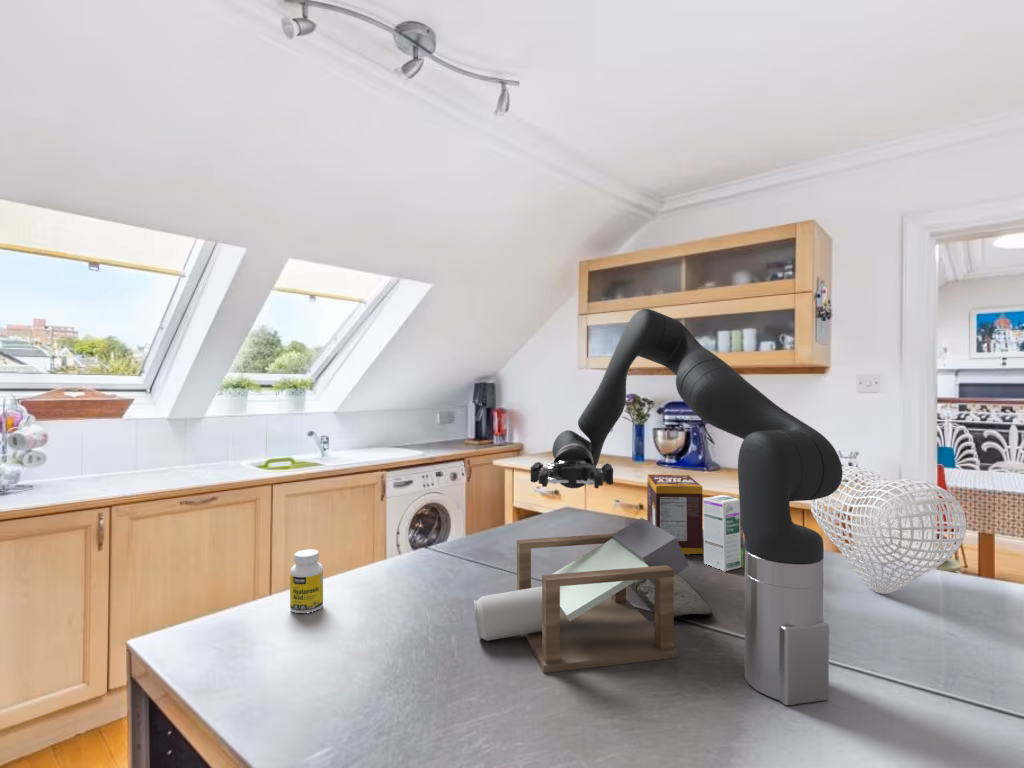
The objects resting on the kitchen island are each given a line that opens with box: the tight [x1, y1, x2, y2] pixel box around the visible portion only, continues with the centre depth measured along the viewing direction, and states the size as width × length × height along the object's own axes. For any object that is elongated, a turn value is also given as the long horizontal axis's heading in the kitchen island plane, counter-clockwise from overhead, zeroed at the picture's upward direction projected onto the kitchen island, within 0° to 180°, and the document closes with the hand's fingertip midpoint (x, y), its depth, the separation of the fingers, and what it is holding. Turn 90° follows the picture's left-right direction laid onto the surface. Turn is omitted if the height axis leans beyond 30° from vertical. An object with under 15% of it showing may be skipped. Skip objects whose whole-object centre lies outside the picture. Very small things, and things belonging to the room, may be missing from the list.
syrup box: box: [703, 494, 744, 573], centre depth 117 cm, size 6×6×14 cm
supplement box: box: [646, 473, 704, 555], centre depth 132 cm, size 10×15×16 cm
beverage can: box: [473, 585, 542, 642], centre depth 86 cm, size 6×6×12 cm
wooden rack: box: [516, 533, 680, 674], centre depth 87 cm, size 20×20×12 cm
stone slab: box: [629, 573, 714, 618], centre depth 106 cm, size 10×3×30 cm
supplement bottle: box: [289, 548, 324, 614], centre depth 97 cm, size 5×5×10 cm
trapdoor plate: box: [552, 517, 690, 621], centre depth 88 cm, size 14×20×5 cm
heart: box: [808, 465, 967, 595], centre depth 103 cm, size 28×16×22 cm, turn 8°
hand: (570, 481), depth 91 cm, fingers open, 8 cm apart
